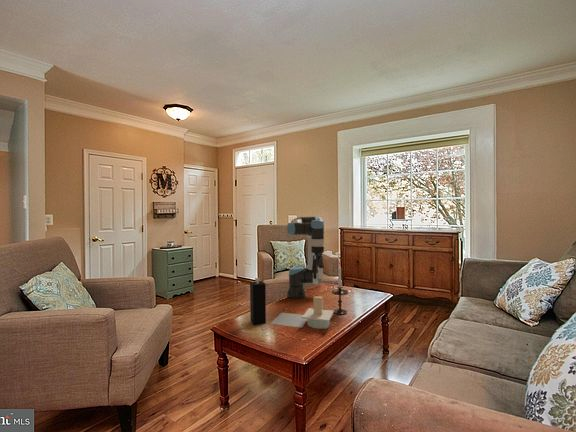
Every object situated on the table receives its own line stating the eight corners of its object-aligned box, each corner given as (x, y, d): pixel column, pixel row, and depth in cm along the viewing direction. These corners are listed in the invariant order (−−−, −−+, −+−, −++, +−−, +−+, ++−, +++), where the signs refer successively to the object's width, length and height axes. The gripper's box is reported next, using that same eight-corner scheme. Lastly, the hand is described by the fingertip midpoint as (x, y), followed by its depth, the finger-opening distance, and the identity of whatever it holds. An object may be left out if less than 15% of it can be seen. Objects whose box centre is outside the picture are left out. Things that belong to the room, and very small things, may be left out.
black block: (250, 321, 184) (249, 277, 183) (262, 320, 186) (261, 275, 186) (253, 326, 176) (252, 279, 176) (266, 324, 179) (265, 278, 178)
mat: (281, 313, 198) (281, 312, 198) (310, 316, 191) (310, 315, 191) (270, 324, 179) (270, 323, 179) (301, 328, 172) (301, 327, 172)
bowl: (310, 319, 186) (310, 310, 185) (331, 322, 181) (331, 312, 181) (305, 327, 173) (305, 317, 173) (327, 330, 169) (326, 320, 169)
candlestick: (348, 315, 192) (347, 262, 191) (331, 314, 194) (330, 261, 193) (348, 310, 202) (347, 259, 201) (332, 309, 204) (331, 259, 204)
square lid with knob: (308, 309, 187) (308, 292, 187) (334, 311, 182) (333, 294, 182) (301, 318, 172) (301, 299, 172) (329, 321, 167) (328, 302, 167)
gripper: (316, 243, 189) (316, 276, 190) (306, 248, 166) (306, 286, 166) (327, 243, 187) (328, 276, 187) (319, 248, 163) (319, 287, 164)
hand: (318, 281), depth 177 cm, fingers open, 13 cm apart
